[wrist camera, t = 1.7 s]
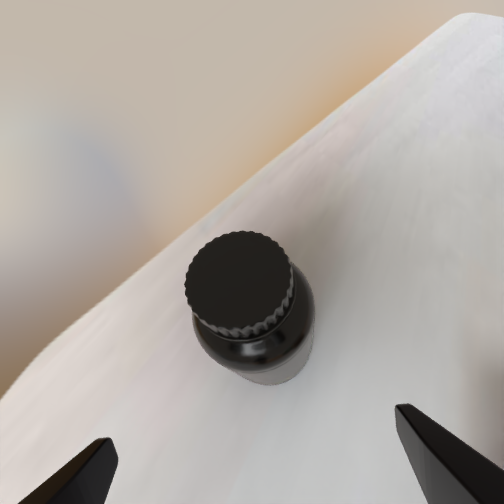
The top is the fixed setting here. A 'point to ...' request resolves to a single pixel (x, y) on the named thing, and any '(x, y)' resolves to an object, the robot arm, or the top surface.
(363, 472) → the top surface
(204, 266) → the supplement bottle
